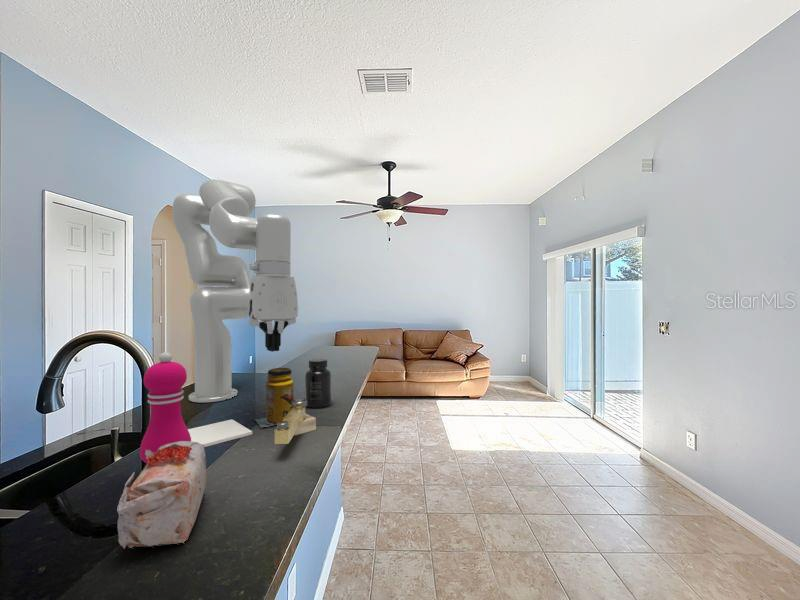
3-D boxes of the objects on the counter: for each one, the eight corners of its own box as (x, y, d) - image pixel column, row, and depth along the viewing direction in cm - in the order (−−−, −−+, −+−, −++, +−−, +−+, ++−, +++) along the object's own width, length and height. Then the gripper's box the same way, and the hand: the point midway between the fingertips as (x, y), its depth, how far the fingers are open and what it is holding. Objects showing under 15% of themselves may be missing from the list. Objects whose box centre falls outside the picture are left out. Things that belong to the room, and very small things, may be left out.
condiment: (299, 422, 87) (298, 370, 87) (260, 429, 83) (260, 374, 82) (289, 413, 93) (289, 365, 93) (253, 420, 89) (252, 369, 89)
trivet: (178, 434, 80) (178, 431, 80) (232, 421, 87) (232, 419, 87) (195, 449, 72) (195, 446, 72) (252, 434, 79) (252, 431, 79)
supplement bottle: (336, 403, 102) (336, 359, 102) (318, 410, 96) (318, 363, 96) (318, 400, 105) (318, 357, 105) (299, 406, 100) (299, 360, 99)
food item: (194, 549, 44) (193, 464, 44) (111, 566, 41) (110, 476, 41) (209, 491, 57) (209, 426, 56) (147, 501, 54) (146, 432, 54)
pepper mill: (201, 468, 64) (200, 350, 64) (162, 488, 57) (161, 356, 57) (170, 461, 66) (169, 348, 66) (128, 481, 60) (127, 354, 59)
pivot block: (283, 429, 82) (283, 418, 82) (304, 423, 86) (303, 412, 86) (295, 435, 79) (295, 423, 79) (316, 429, 82) (315, 418, 82)
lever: (272, 444, 67) (272, 425, 67) (293, 414, 84) (293, 399, 84) (290, 443, 67) (290, 424, 67) (308, 414, 84) (308, 398, 84)
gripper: (246, 268, 78) (246, 356, 79) (310, 271, 88) (310, 349, 89) (233, 269, 84) (233, 351, 84) (295, 272, 94) (295, 345, 94)
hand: (273, 350), depth 87 cm, fingers closed
